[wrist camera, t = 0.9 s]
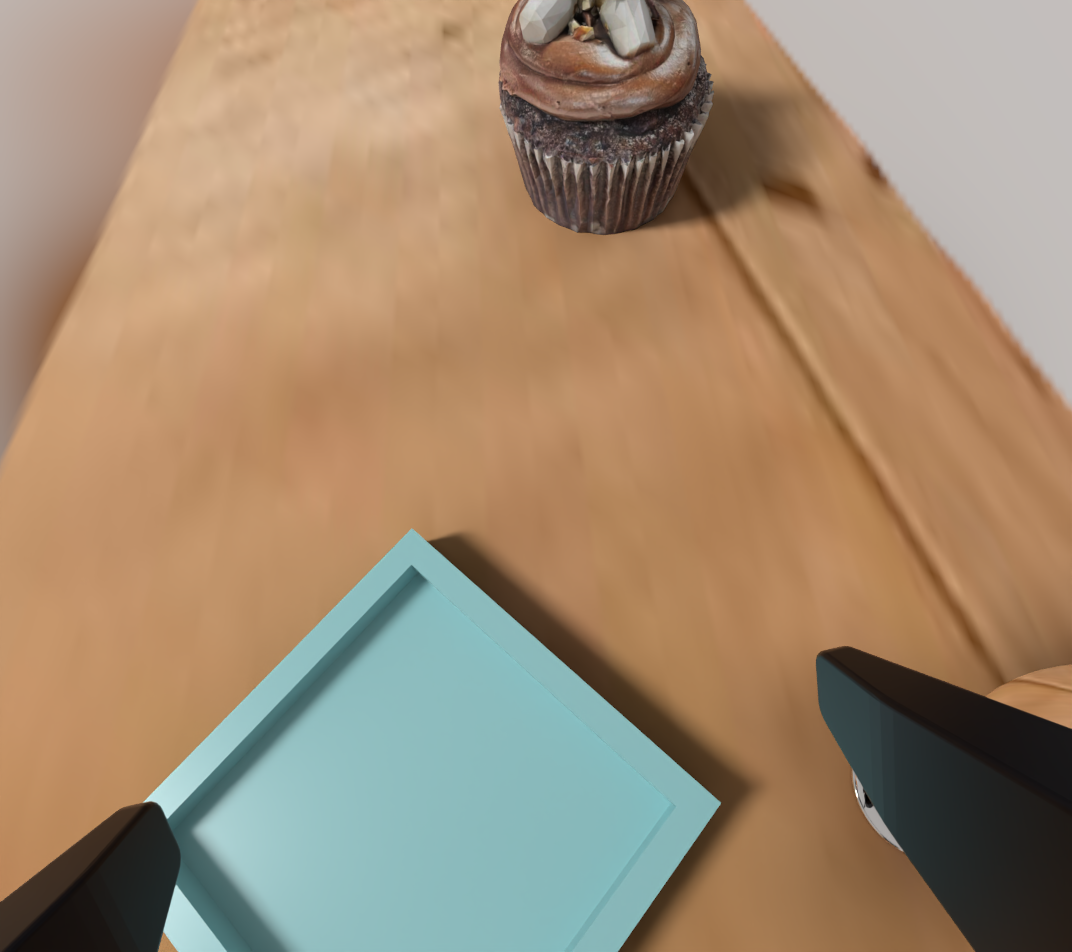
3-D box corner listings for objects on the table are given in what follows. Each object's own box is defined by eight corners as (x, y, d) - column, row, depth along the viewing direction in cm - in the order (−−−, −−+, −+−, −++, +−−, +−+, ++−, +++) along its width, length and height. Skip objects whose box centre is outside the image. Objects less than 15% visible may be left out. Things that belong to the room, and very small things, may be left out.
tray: (709, 798, 22) (721, 802, 20) (418, 1213, 18) (403, 1259, 17) (422, 542, 26) (411, 528, 24) (135, 838, 22) (100, 845, 21)
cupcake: (501, 248, 32) (474, 44, 23) (514, 111, 36) (495, -111, 27) (698, 250, 31) (752, 41, 22) (690, 110, 35) (733, -118, 26)
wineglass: (998, 707, 23) (1401, 665, 12) (1022, 898, 21) (1546, 1067, 10) (828, 684, 23) (1061, 623, 12) (834, 867, 21) (1124, 993, 10)
